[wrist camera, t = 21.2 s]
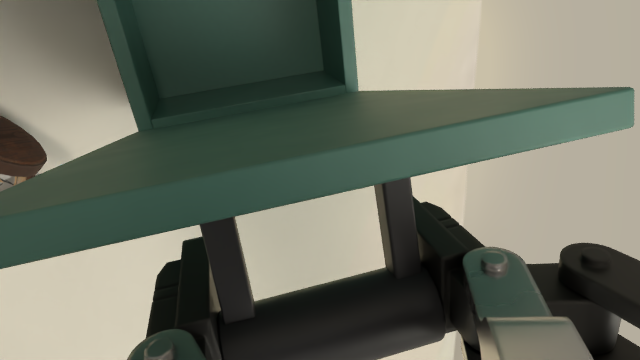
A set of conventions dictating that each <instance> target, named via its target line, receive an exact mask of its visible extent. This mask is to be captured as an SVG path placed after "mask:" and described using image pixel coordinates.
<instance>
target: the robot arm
mask: <svg viewBox="0 0 640 360" xmlns="http://www.w3.org/2000/svg"><path fill="white" fill-rule="evenodd" d="M413 204H414V212H415V220H416V228H417V237H418V245H419V253H420V261H421V263H422V264H423V265H424V266H425V268H426V269H427V270H428V272H429V273H430V275H431V277H432V279H433V280H434V282H435V285H436V287H437V289H438V292H439V295H440V297H441V301H442V304H443V308H444V313H445V320H446V332H445V334H446V333H449V332H452V331H456V330H458V332H459V333H460V334H461V349H462V354H463V358H464V360H640V347H639V346H637V345H636V344H634V343H632V342H631V341H629V340H627V339H626V338H624V337H622V336H621V335H619V334H618V331H619V327H620V322H621V318H622V319H624V320H626V321H627V322H629V323H631V324H632V325H634V326H636V327H638V328H639V329H640V261H639V260H637V259H634V258H632V257H630V256H628V255H626V254H623V253H621V252H619V251H617V250H614V249H612V248H609V247H606V246H603V245H599V244H592V243H577V244H571V245H569V246H566V247H565V248H563V249H562V251H561V253H560V260H559V263H552V264H525V262H524V261H523V259H522V258H521V257H520V256H518V255H517V254H515V253H513V252H511V251H509V250H506V249H502V248H497V247H485V246H484V245H483V244H481V243H480V242H479V241H478V240H477V239H476V238H475V237H473V236H472V235H471V234H470V233H469V232H468V231H467V230H466V229H464V228H463V227H462V226H461V225H460V226H459V223H458V222H457V221H456V220H454V219H453V218H451V216H450V215H449V214H448V213H447V212H445V211H444V210H443V209H442V208H441V207H438V206H436V205H433V204H431V203H428V202H423V203H420V202H419V201H418V200H417V199H415V198H414V197H413ZM219 311H221V308H220V304H219V300H218V296H217V292H216V288H215V284H214V280H213V276H212V272H211V268H210V264H209V260H208V256H207V252H206V248H205V244H204V240H203V237H198V238H194V239H189V240H185V241H183V245H182V255H181V260H177V261H172V262H168V263H166V265H165V266H164V267H163V269H162V270H161V271H160V273H159V274H158V275H157V279H156V285H155V291H154V296H153V302H152V307H151V312H150V318H149V324H148V329H147V335H146V339H145V340H143V341H142V342H141V343H140V344H139V345H137V346H136V347H135V349H134V350H133V351H132V352H131V354H130V355H129V357H128V359H127V360H222V355H221V349H220V342H219V333H218V314H219Z"/></svg>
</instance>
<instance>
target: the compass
mask: <svg viewBox="0 0 640 360" xmlns="http://www.w3.org/2000/svg"><path fill="white" fill-rule="evenodd" d="M46 161H47V155H46V153H45V151H44V150H43V148H42V146H41V145H40V143H39V142H38V141H37V140H36V139H35V138H34V137H33V136H31V135H30V134H29V133H27V132H26V131H25V130H24V129H22V128H21V127H19V126H18V125H16V124H14V123H13V122H11V121H10V120H8V119H6V118H4V117H2V116H0V192H1V191H3V190H5V189H7V188H10V187H12V186H14V185H17V184H19V183H21V182H24V181H26V180H28V179H30V178H33V177H35V175H36V174H37V172H38V171H39V170H40V169H41V168H42V166H43V165H44V164H45V162H46Z"/></svg>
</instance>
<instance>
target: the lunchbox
mask: <svg viewBox="0 0 640 360" xmlns="http://www.w3.org/2000/svg"><path fill="white" fill-rule="evenodd" d="M97 3H98V6H99V9H100V13H101V16H102V19H103V22H104V25H105V28H106V31H107V34H108V37H109V40H110V44H111V47H112V50H113V53H114V56H115V59H116V62H117V65H118V68H119V72H120V75H121V78H122V81H123V84H124V87H125V90H126V93H127V96H128V99H129V103H130V106H131V109H132V112H133V115H134V118H135V121H136V124H137V127H138V131H144V130H150V129H155V128H161V127H166V126H171V125H177V124H182V123H188V122H193V121H199V120H204V119H210V118H215V117H221V116H226V115H232V114H237V113H242V112H248V111H253V110H259V109H264V108H270V107H275V106H281V105H286V104H292V103H297V102H302V101H308V100H313V99H319V98H324V97H330V96H335V95H341V94H346V93H352V92H357V91H358V79H357V66H356V53H355V41H354V28H353V16H352V3H351V0H97Z"/></svg>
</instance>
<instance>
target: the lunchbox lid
mask: <svg viewBox="0 0 640 360" xmlns="http://www.w3.org/2000/svg"><path fill="white" fill-rule="evenodd" d="M633 125H634V89H633V88H630V87H609V88H608V87H605V88H604V87H603V88H537V89H536V88H535V89H534V88H533V89H464V90H394V91H357V92H352V93H346V94H341V95H335V96H330V97H324V98H319V99H313V100H308V101H302V102H297V103H292V104H286V105H281V106H275V107H270V108H264V109H259V110H253V111H248V112H242V113H237V114H232V115H226V116H221V117H215V118H210V119H204V120H199V121H193V122H188V123H182V124H177V125H171V126H166V127H161V128H155V129H150V130H144V131H139V132H136V133H134V134H131V135H129V136H127V137H125V138H122V139H120V140H118V141H115V142H113V143H111V144H109V145H106V146H104V147H102V148H99V149H97V150H95V151H92V152H90V153H88V154H86V155H83V156H81V157H79V158H76V159H74V160H72V161H69V162H67V163H65V164H63V165H60V166H58V167H56V168H53V169H51V170H49V171H47V172H44V173H42V174H40V175H37V176H35V177H33V178H30V179H28V180H26V181H24V182H21V183H19V184H17V185H14V186H12V187H10V188H7V189H5V190H3V191H1V192H0V269H3V268H7V267H12V266H16V265H20V264H25V263H29V262H34V261H38V260H43V259H47V258H52V257H56V256H61V255H65V254H70V253H74V252H79V251H83V250H87V249H92V248H96V247H101V246H105V245H110V244H114V243H119V242H123V241H128V240H132V239H137V238H141V237H146V236H150V235H154V234H159V233H163V232H168V231H172V230H177V229H181V228H186V227H190V226H195V225H199V224H200V228H201V232H202V236H203V240H204V244H205V248H206V252H207V256H208V260H209V264H210V268H211V272H212V276H213V280H214V284H215V288H216V292H217V296H218V300H219V304H220V308H221V311H219V314H218V333H219V342H220V349H221V355H222V360H377V359H381V358H384V357H387V356H391V355H394V354H397V353H401V352H404V351H408V350H411V349H414V348H418V347H421V346H424V345H428V344H431V343H434V342H438V341H440V340H442V339H443V338H444V336H445V332H446V320H445V313H444V308H443V304H442V301H441V297H440V295H439V292H438V289H437V287H436V285H435V282H434V280H433V279H432V277H431V275H430V273H429V272H428V270H427V269H426V268H425V266H424V265H423V264H422V263H421V261H420V253H419V245H418V237H417V228H416V220H415V212H414V204H413V196H412V188H411V179H410V177H413V176H418V175H422V174H427V173H431V172H436V171H440V170H445V169H449V168H454V167H458V166H463V165H467V164H471V163H476V162H480V161H485V160H489V159H494V158H498V157H503V156H507V155H512V154H516V153H520V152H525V151H530V150H534V149H538V148H543V147H547V146H552V145H556V144H561V143H565V142H569V141H574V140H579V139H583V138H588V137H592V136H596V135H601V134H605V133H610V132H614V131H619V130H623V129H627V128H631V127H633ZM373 185H374V187H375V194H376V201H377V208H378V215H379V222H380V229H381V236H382V243H383V250H384V257H385V264H386V268H382V269H378V270H374V271H370V272H366V273H362V274H359V275H355V276H351V277H347V278H343V279H339V280H336V281H332V282H328V283H324V284H320V285H316V286H312V287H309V288H305V289H301V290H297V291H293V292H289V293H286V294H282V295H278V296H274V297H270V298H266V299H262V300H259V301H255V302H254V299H253V295H252V290H251V286H250V281H249V277H248V273H247V268H246V264H245V259H244V255H243V251H242V246H241V242H240V238H239V233H238V229H237V224H236V220H235V216H239V215H244V214H248V213H253V212H257V211H262V210H266V209H271V208H275V207H279V206H284V205H288V204H293V203H297V202H302V201H306V200H311V199H315V198H320V197H324V196H329V195H333V194H338V193H342V192H346V191H351V190H355V189H360V188H364V187H369V186H373Z"/></svg>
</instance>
